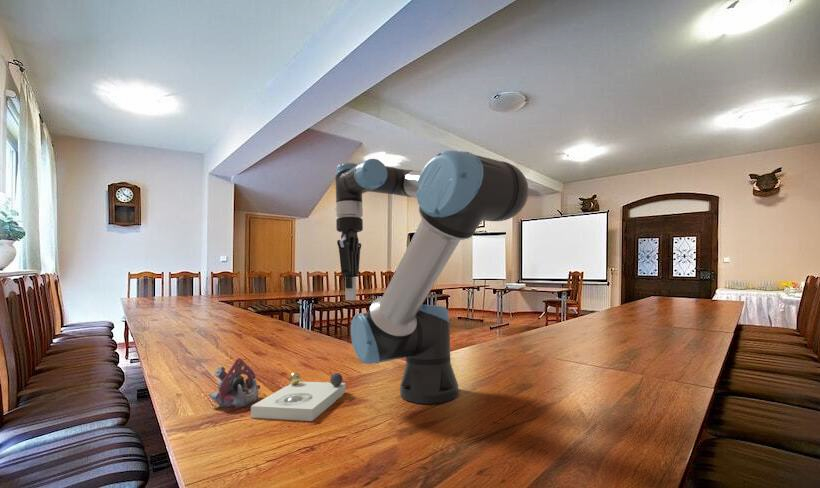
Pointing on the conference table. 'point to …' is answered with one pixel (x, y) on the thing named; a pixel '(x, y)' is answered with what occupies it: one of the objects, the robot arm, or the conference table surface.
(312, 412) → the board
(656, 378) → the conference table surface
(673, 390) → the conference table surface
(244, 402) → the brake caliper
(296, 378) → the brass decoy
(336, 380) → the dark grey ball
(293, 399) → the steel ball
